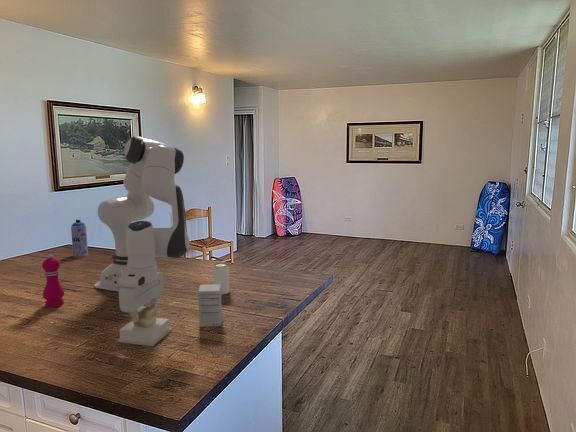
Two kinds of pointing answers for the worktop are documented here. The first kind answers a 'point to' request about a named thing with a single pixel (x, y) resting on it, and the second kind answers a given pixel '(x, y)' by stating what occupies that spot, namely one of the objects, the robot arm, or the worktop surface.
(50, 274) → the pepper mill
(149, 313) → the maple block
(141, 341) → the pedestal
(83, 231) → the aerosol can
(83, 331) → the worktop surface
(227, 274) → the can
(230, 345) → the worktop surface
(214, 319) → the supplement box
